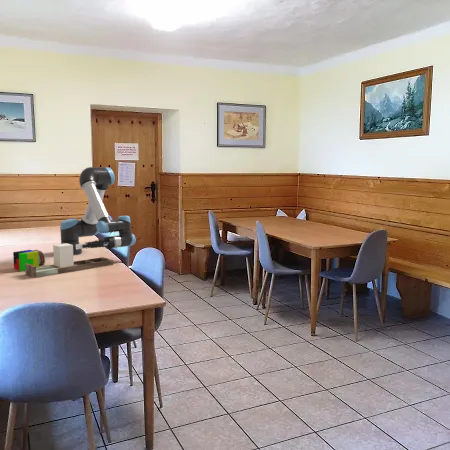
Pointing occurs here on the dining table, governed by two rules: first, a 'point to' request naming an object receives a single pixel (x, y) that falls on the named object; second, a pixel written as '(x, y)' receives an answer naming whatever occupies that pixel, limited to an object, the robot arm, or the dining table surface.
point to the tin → (40, 257)
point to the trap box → (78, 266)
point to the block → (63, 255)
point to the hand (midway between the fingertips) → (76, 246)
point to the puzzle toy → (25, 259)
